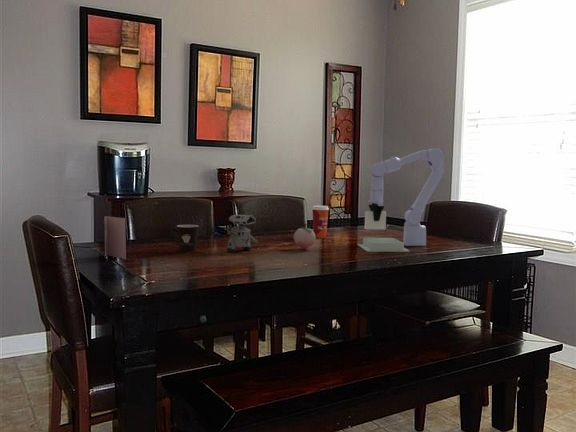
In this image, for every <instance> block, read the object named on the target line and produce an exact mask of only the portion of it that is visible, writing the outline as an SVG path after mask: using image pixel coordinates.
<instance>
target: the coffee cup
mask: <svg viewBox="0 0 576 432" xmlns="http://www.w3.org/2000/svg"><path fill="white" fill-rule="evenodd" d="M311 209H312V231H313V232H314V233H315V236H316V238H315V239H326V237H327V232H328V231H327V229H328V218H329V210H330V208H329V206H328V205H313V206H312V208H311Z"/></svg>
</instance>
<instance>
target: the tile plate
mask: <svg viewBox="0 0 576 432" xmlns="http://www.w3.org/2000/svg"><path fill="white" fill-rule="evenodd" d="M386 224H387V211H385V210H382V212H381V216H380V220H379V221H374V216H373V211H371V210H365V211H364V230H386V228H387V227H386V226H387V225H386Z"/></svg>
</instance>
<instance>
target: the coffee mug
mask: <svg viewBox="0 0 576 432" xmlns="http://www.w3.org/2000/svg"><path fill="white" fill-rule="evenodd" d="M199 227H200V226H199V225H197V224H178V225H176V228H170V229H169V230H167V236H168V238H169V239H170V240H171V241H173V242H174V243H176V244H177V245H178V247H179V248H178V249H179V252H181V253H194V252H196V251H197V245H198V244H197V243H198V237H199V236H198V235H199ZM171 231H174V232H175V233H176V234H177V239H178V241H177V240H175V239H174V238H172V237H171V236H170V232H171Z"/></svg>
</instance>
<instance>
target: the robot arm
mask: <svg viewBox="0 0 576 432" xmlns="http://www.w3.org/2000/svg"><path fill="white" fill-rule="evenodd" d="M416 161H426V162H427V163H428V164H429V167H430V169H431V173H430V175H429V176H428V178H427V180H426V182H425V183H424V185H423V186H422V189H421V190H420V192H419V193H418V195H417V197H416V199H415V201H414V202H413V204H411V206H410V207H409V209H408V210H406V211H405V212H404V215H403V218H404V220H405V222H404V223H403V241H402V242H404V247H405V246H406V247H410V246H411V247H412V246H417V247H421V246H422V247H423V246H427V244H426V243H427V228H426V226H425V225H423V224H422V225H421V221H422V216H423V213H424V211H425V207H426V206H427V203H428V202H429V200H430V198H431V197H432V195H433V193H434V192H435V190H436V189H437V187H438V185H439V183H440V181H441V179H442V177H443V176H444V174H445V155H444V152H442V150H441V149H440V148H438V147H437V148H436V147H434V148H429V149H423V150H419V151H416V152H412V153H410V154H409V155H405V156H403V157H401V158H399V157H397V156H391V157H389V158H388V159H386V160H380V161H379V162H376V163H374V164H372V166H371V167H370V170H369V171H370V174H371V176H370V185H369V186H370V187H369V188H370V190H369V194H370V195H369V199H367V202H368V203H370V204H368V208H369V211H373V216H374V221H379V220H380V216H381V212H382V211H384V208H385V205H384V182H385V181H384V174H390V173H392V172H395V171H398V170H400V169H401V168H402V166H403V165H406V164H411V163H413V162H416Z"/></svg>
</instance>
